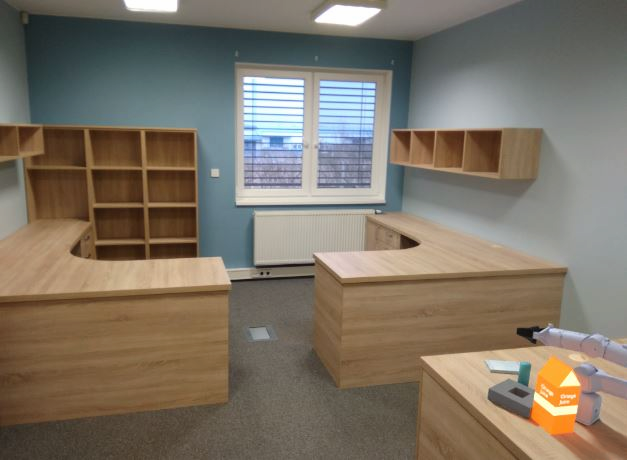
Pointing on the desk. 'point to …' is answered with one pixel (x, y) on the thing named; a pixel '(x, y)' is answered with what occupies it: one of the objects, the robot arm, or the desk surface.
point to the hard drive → (503, 366)
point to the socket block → (513, 397)
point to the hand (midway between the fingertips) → (523, 331)
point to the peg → (524, 373)
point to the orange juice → (556, 397)
